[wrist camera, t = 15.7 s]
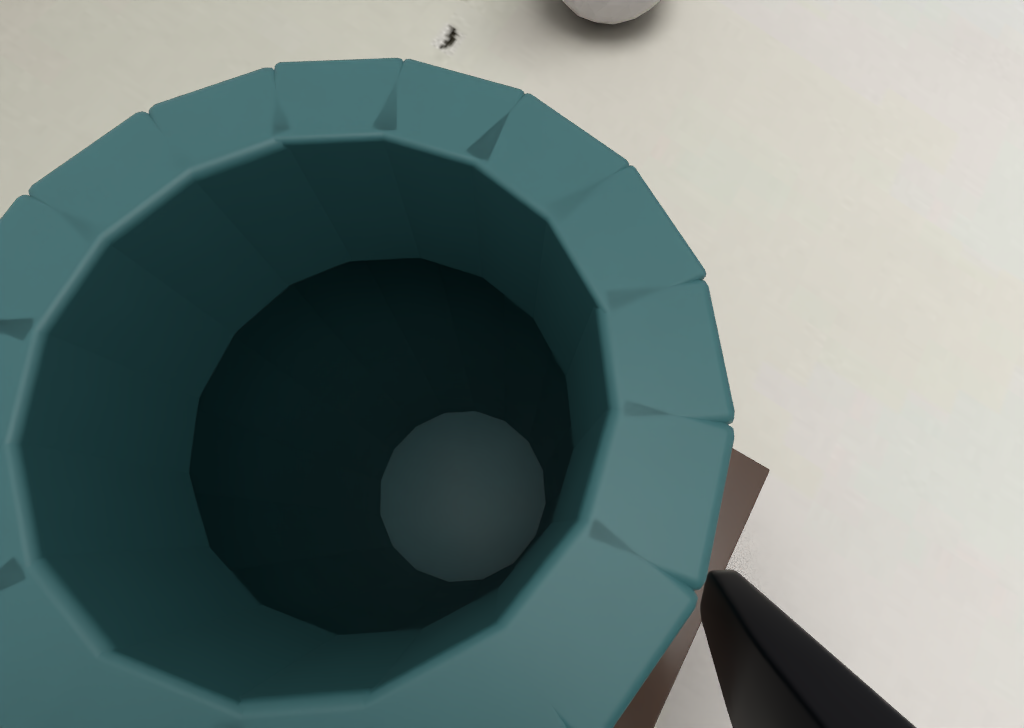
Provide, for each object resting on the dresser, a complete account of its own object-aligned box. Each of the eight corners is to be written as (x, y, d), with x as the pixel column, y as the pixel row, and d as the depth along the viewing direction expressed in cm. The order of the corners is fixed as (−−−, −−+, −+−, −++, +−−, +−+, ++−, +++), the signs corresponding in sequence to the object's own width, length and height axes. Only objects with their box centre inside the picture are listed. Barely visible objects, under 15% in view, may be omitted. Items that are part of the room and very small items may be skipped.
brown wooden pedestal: (720, 481, 20) (770, 469, 16) (600, 731, 17) (627, 787, 13) (396, 288, 22) (374, 239, 19) (247, 480, 20) (185, 468, 16)
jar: (564, 586, 15) (832, 847, 3) (370, 600, 15) (-297, 949, 2) (547, 399, 17) (662, 46, 5) (374, 410, 17) (0, 69, 4)
